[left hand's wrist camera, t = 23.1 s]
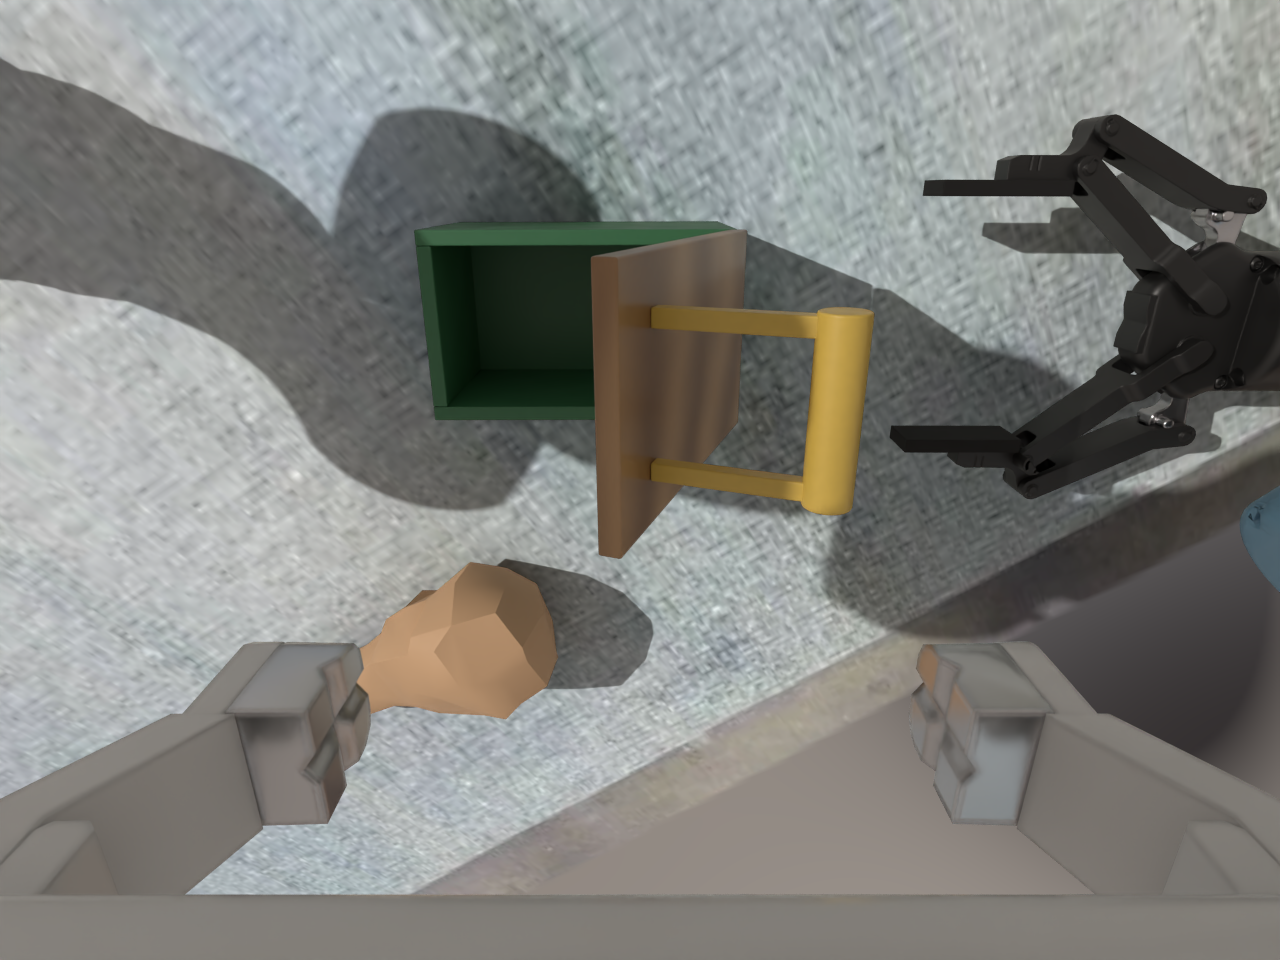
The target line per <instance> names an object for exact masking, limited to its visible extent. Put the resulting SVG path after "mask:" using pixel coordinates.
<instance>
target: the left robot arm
mask: <svg viewBox="0 0 1280 960" xmlns="http://www.w3.org/2000/svg"><path fill="white" fill-rule="evenodd" d="M363 670H364V666H363V661H362V656H361V651H360V649H359V648H358V647H357V646H356V645H355V644H354V643H310V642H286V643H284V642H251V643H248V644H245V645H243V646H242V647H241V648H240V649H239V651H238V652H237V653H236V654H235V655H234V656H233V657H232V658H231V660H230V661H229V662H228V663H227V664H226V665H225V666H224V667H223V669H222V670H221V671H220V672H219V673H218V674H217V675H216V676H215V678H214V679H213V680H212V681H211V682H210V683H209V684H208V686H207V687H206V688H205V689H204V690H203V691H202V692H201V693H200V695H199V696H198V697H197V698H196V699H195V700H194V701H193V702H192V704H191V705H190V706H189V707H188V708H187V709H186V710H185V711H184V713H183V714H170V715H168V716H166V717H164V718H162V719H160V720H158V721H156V722H154V723H152V724H150V725H148V726H146V727H144V728H142V729H140V730H138V731H136V732H134V733H132V734H130V735H128V736H126V737H124V738H122V739H120V740H118V741H116V742H114V743H112V744H110V745H108V746H106V747H104V748H102V749H100V750H98V751H96V752H94V753H92V754H90V755H88V756H86V757H84V758H82V759H79V760H77V761H75V762H73V763H71V764H69V765H67V766H65V767H63V768H61V769H59V770H57V771H55V772H53V773H51V774H49V775H47V776H45V777H43V778H41V779H39V780H37V781H35V782H33V783H31V784H29V785H27V786H25V787H23V788H21V789H19V790H17V791H15V792H13V793H11V794H9V795H7V796H5V797H3V798H1V799H0V960H1280V799H1278V798H1276V797H1274V796H1272V795H1270V794H1268V793H1266V792H1264V791H1262V790H1260V789H1258V788H1256V787H1254V786H1252V785H1250V784H1248V783H1246V782H1244V781H1242V780H1240V779H1238V778H1236V777H1234V776H1232V775H1230V774H1228V773H1226V772H1224V771H1222V770H1220V769H1218V768H1216V767H1214V766H1212V765H1210V764H1208V763H1206V762H1204V761H1202V760H1200V759H1198V758H1196V757H1194V756H1192V755H1190V754H1188V753H1186V752H1184V751H1182V750H1180V749H1178V748H1176V747H1174V746H1172V745H1170V744H1168V743H1166V742H1164V741H1162V740H1160V739H1158V738H1156V737H1154V736H1152V735H1150V734H1148V733H1146V732H1144V731H1142V730H1140V729H1138V728H1136V727H1134V726H1132V725H1130V724H1128V723H1126V722H1124V721H1122V720H1120V719H1118V718H1116V717H1114V716H1112V715H1110V714H1097V713H1096V712H1095V710H1094V709H1093V708H1092V707H1091V706H1090V705H1089V704H1088V702H1087V701H1086V700H1085V699H1084V698H1083V697H1082V696H1081V695H1080V693H1079V692H1078V691H1077V690H1076V689H1075V688H1074V687H1073V686H1072V684H1071V683H1070V682H1069V681H1068V680H1067V679H1066V678H1065V676H1064V675H1063V674H1062V673H1061V672H1060V671H1059V670H1058V669H1057V668H1056V666H1055V665H1054V664H1053V663H1052V662H1051V661H1050V660H1049V658H1048V657H1047V656H1046V655H1045V654H1044V653H1043V652H1042V651H1041V649H1040V648H1039V647H1038V646H1037V645H1035V644H1033V643H1031V642H1028V641H1025V642H995V643H976V644H923V646H922V648H921V650H920V652H919V654H918V660H917V665H916V670H917V671H918V673H919V675H920V677H921V678H922V680H923V683H922V684H921V685H920V686H919V687H918V688H917V689H916V690H915V691H914V692H913V693H912V695H911V702H910V710H909V719H910V731H911V736H912V739H913V743H914V747H915V749H916V751H917V753H918V755H919V757H920V759H921V761H922V762H923V763H925V764H926V765H928V766H929V767H930V768H932V769H933V770H935V771H936V772H935V778H934V784H933V786H934V788H935V790H936V792H937V794H938V796H939V798H940V800H941V802H942V804H943V806H944V808H945V810H946V812H947V814H948V816H949V818H950V820H951V822H952V823H953V824H978V825H1015V826H1017V829H1018V830H1019V831H1020V832H1022V833H1023V834H1024V835H1025V836H1026V837H1027V838H1029V839H1030V840H1031V841H1032V842H1033V843H1035V844H1036V845H1037V846H1038V847H1039V848H1041V849H1042V850H1043V851H1044V852H1045V853H1047V854H1048V855H1049V856H1050V857H1051V858H1052V859H1054V860H1055V861H1056V862H1057V863H1058V864H1060V865H1061V866H1062V867H1063V868H1064V869H1066V870H1067V871H1068V872H1069V873H1070V874H1072V875H1073V876H1074V877H1075V878H1076V879H1078V880H1079V881H1080V882H1081V883H1082V884H1084V885H1085V886H1086V887H1087V888H1088V889H1089V890H1091V891H1092V892H1093V893H1094V894H1080V895H789V894H788V895H787V894H784V895H783V894H780V895H777V894H776V895H775V894H773V895H771V894H769V895H768V894H765V895H764V894H725V895H724V894H723V895H721V894H717V895H716V894H713V895H185V894H186V893H187V892H188V891H190V890H191V889H192V888H193V887H194V886H196V885H197V884H198V883H199V882H200V881H202V880H203V879H204V878H205V877H206V876H207V875H209V874H210V873H211V872H212V871H213V870H215V869H216V868H217V867H218V866H219V865H221V864H222V863H223V862H224V861H225V860H227V859H228V858H229V857H230V856H231V855H233V854H234V853H235V852H236V851H237V850H239V849H240V848H241V847H242V846H243V845H245V844H246V843H247V842H248V841H249V840H250V839H252V838H253V837H254V836H255V835H256V834H258V833H259V832H260V831H261V830H262V829H263V826H266V825H300V824H328V822H329V820H330V818H331V816H332V814H333V812H334V810H335V808H336V806H337V804H338V802H339V800H340V798H341V796H342V794H343V792H344V790H345V788H346V786H347V784H346V778H345V773H344V771H345V770H347V769H348V768H350V767H351V766H352V765H354V764H355V763H357V762H358V761H359V760H360V757H361V755H362V753H363V751H364V749H365V747H366V744H367V739H368V734H369V730H370V725H371V708H370V701H369V695H368V693H367V692H366V691H365V690H364V689H363V688H362V687H361V686H360V685H359V684H358V683H357V680H358V678H359V677H360V675H361V673H362V671H363Z"/></svg>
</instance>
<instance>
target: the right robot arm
mask: <svg viewBox="0 0 1280 960" xmlns="http://www.w3.org/2000/svg"><path fill="white" fill-rule="evenodd" d="M1072 137H1073V140H1072V142H1071V143H1070V145H1069V147H1068V148H1067V150H1066V151H1065V152H1063V153H1062V154H1060V155H1017V156H1008V157H1005V158H1003V159H1000V160H998V161H997V166H996V172H995V178H994V180H927V181H925V183H924V190H923V196H1070V197H1071V198H1072V199H1073V200H1074V201H1075V203H1076V204H1077V205H1078V206H1079V207H1080V208H1081V209H1082V210H1083V212H1084V213H1085V214H1086V215H1087V216H1088V217H1089V218H1090V219H1091V221H1092V222H1093V223H1094V224H1095V225H1096V226H1097V227H1098V228H1099V230H1100V231H1101V232H1102V233H1103V234H1104V235H1105V236H1106V237H1107V239H1108V240H1109V241H1110V242H1111V243H1112V244H1113V245H1114V246H1115V248H1116V249H1117V250H1118V251H1119V252H1120V253H1121V254H1122V255H1123V257H1124V259H1123V262H1124V263H1125V264H1126V265H1127V267H1128V268H1129V269H1130V270H1131V271H1132V272H1133V273H1134V274H1135V276H1136V277H1137V278H1138V279H1139V280H1140V281H1139V282H1138V283H1137V284H1136V285H1135V286H1134V288H1133V290H1132V291H1127V293H1126V297H1125V301H1124V320H1123V322H1122V324H1121V326H1120V328H1119V329H1118V331H1117V334H1116V338H1115V342H1114V347H1117V348H1118V352H1119V354H1118V355H1117V356H1116V357H1114V358H1113V359H1111V360H1110V361H1108V362H1107V363H1106V364H1104V365H1103V366H1101V367H1100V368H1099V369H1097V371H1096V375H1095V376H1094V377H1093V378H1092V379H1090V380H1089V381H1087V382H1086V383H1085V384H1083V385H1082V386H1080V387H1079V388H1077V389H1076V390H1074V391H1073V392H1072V393H1070V394H1069V395H1067V396H1066V397H1064V398H1063V399H1061V400H1060V401H1059V402H1057V403H1056V404H1054V405H1053V406H1051V407H1050V408H1048V409H1047V410H1046V411H1044V412H1043V413H1041V414H1040V415H1038V416H1037V417H1035V418H1034V419H1033V420H1031V421H1030V422H1028V423H1027V424H1025V425H1024V426H1022V427H1021V428H1020V429H1018V430H1017V431H1015V432H1014V433H1012V434H1011V433H1010V432H1008V431H1007V430H1005V429H1003V428H1002V427H1000V426H891V432H890V438H891V439H892V440H893V441H894V442H895V443H896V444H897V445H898V446H899V447H900V448H901V449H902V450H903V451H904V452H940V453H948V454H947V456H948V457H949V458H950V459H951V460H952V461H953V462H955V463H956V464H957V465H960V466H962V467H993V468H1004V469H1005V471H1004V473H1003V479H1004V481H1005V482H1006V483H1007V484H1009V485H1010V486H1011V487H1012V488H1013V489H1015V490H1016V491H1017V492H1019V493H1020V494H1021V495H1022V496H1024V497H1025V498H1027V499H1034V498H1037V497H1039V496H1041V495H1044V494H1046V493H1049V492H1051V491H1053V490H1056V489H1058V488H1061V487H1063V486H1066V485H1068V484H1070V483H1073V482H1075V481H1078V480H1080V479H1082V478H1085V477H1087V476H1090V475H1092V474H1094V473H1097V472H1099V471H1102V470H1104V469H1107V468H1109V467H1111V466H1114V465H1116V464H1119V463H1121V462H1123V461H1126V460H1128V459H1131V458H1133V457H1135V456H1138V455H1140V454H1143V453H1145V452H1148V451H1150V450H1152V449H1160V448H1169V447H1179V446H1185V445H1188V444H1190V443H1191V442H1192V441H1193V440H1194V438H1195V436H1196V431H1195V429H1194V428H1193V427H1191V426H1189V425H1186V424H1185V421H1186V416H1187V410H1188V404H1189V398H1192V397H1194V396H1196V395H1198V394H1200V393H1203V392H1207V391H1280V251H1245V250H1242V249H1241V248H1239V247H1238V246H1237V245H1235V242H1236V240H1237V237H1238V235H1239V232H1240V230H1241V227H1242V225H1243V222H1244V220H1245V217H1246V215H1247V214H1255V213H1257V212H1259V211H1260V210H1261V209H1262V208H1263V207H1264V206H1265V204H1266V201H1267V194H1266V192H1265V191H1264V190H1262V189H1258V188H1251V187H1243V186H1235V185H1228V184H1226V183H1225V182H1223V181H1222V180H1220V179H1218V178H1217V177H1215V176H1214V175H1212V174H1211V173H1209V172H1207V171H1206V170H1204V169H1203V168H1201V167H1200V166H1198V165H1197V164H1195V163H1193V162H1192V161H1190V160H1189V159H1187V158H1186V157H1184V156H1182V155H1181V154H1179V153H1178V152H1176V151H1175V150H1173V149H1171V148H1170V147H1168V146H1167V145H1165V144H1164V143H1162V142H1160V141H1159V140H1157V139H1156V138H1154V137H1153V136H1151V135H1150V134H1148V133H1146V132H1145V131H1143V130H1142V129H1140V128H1139V127H1137V126H1135V125H1134V124H1132V123H1131V122H1129V121H1128V120H1126V119H1124V118H1123V117H1121V116H1119V115H1116V114H1115V115H1107V116H1101V117H1095V118H1090V119H1084V120H1081V121H1080V122H1078V123H1077V124H1076V125H1075V127H1074V129H1073V132H1072ZM1102 160H1104V161H1106V162H1107V163H1109V164H1110V165H1112V166H1114V167H1115V168H1117V169H1118V170H1120V171H1122V172H1123V173H1125V174H1127V175H1128V176H1130V177H1131V178H1133V179H1135V180H1136V181H1138V182H1139V183H1141V184H1143V185H1144V186H1146V187H1147V188H1149V189H1151V190H1152V191H1154V192H1155V193H1157V194H1159V195H1160V196H1162V197H1163V198H1165V199H1167V200H1168V201H1170V202H1172V203H1174V204H1175V205H1177V206H1180V207H1183V208H1186V209H1191V210H1193V211H1192V212H1191V215H1190V217H1191V219H1192V220H1194V222H1195V224H1196V225H1198V226H1200V227H1202V228H1203V229H1204V230H1205V233H1206V237H1205V241H1203V242H1200V243H1197V244H1195V245H1194V246H1192V247H1190V248H1189V249H1187V250H1186V251H1185V250H1184V249H1183V248H1182V247H1180V246H1178V245H1176V244H1174V243H1173V242H1172V241H1171V240H1170V239H1169V238H1168V237H1167V235H1166V234H1165V233H1164V232H1163V231H1162V230H1161V228H1160V227H1159V226H1158V225H1157V224H1156V223H1155V222H1154V220H1153V219H1152V218H1151V217H1150V216H1149V215H1148V213H1147V212H1146V211H1145V210H1144V209H1143V208H1142V206H1141V205H1140V204H1139V203H1138V202H1137V201H1136V199H1135V198H1134V197H1133V196H1132V195H1131V194H1130V192H1129V191H1128V190H1127V189H1126V188H1125V187H1124V185H1123V184H1122V183H1121V182H1120V181H1119V180H1118V178H1117V177H1116V176H1115V175H1114V174H1113V173H1112V171H1111V170H1110V169H1109V168H1108V167H1107V166H1106V164H1105V163H1104V162H1103V161H1102ZM1132 372H1135V373H1137V374H1136V375H1131V373H1132ZM1156 391H1157V392H1159V393H1161V394H1162V395H1161V398H1160V400H1159V401H1158V402H1157V403H1156V404H1155V405H1153V406H1150V407H1147V408H1141V409H1139V411H1138V412H1137V416H1135V417H1130V418H1126V419H1122V420H1119V421H1117V422H1114V423H1112V424H1109V425H1107V426H1105V427H1102V428H1100V429H1097V430H1095V431H1093V432H1090V433H1088V434H1086V435H1083V434H1084V433H1086V432H1087V431H1089V430H1090V429H1092V428H1093V427H1095V426H1096V425H1098V424H1099V423H1101V422H1102V421H1104V420H1105V419H1107V418H1108V417H1110V416H1111V415H1113V414H1114V413H1116V412H1117V411H1118V410H1120V409H1121V408H1123V407H1124V406H1126V405H1127V404H1129V403H1131V402H1135V401H1141V400H1144V399H1145V398H1147V397H1149V396H1150V395H1152V394H1153V393H1155V392H1156ZM1081 435H1083V436H1081ZM1080 436H1081V437H1080ZM1078 437H1079V438H1078ZM1240 532H1241V536H1242V540H1243V542H1244V545H1245V547H1246V549H1247V551H1248V553H1249V555H1250V556H1251V558H1252V560H1253V561H1254V562H1255V564H1256V565H1257V567H1258V568H1259V570H1260V571H1261V572H1262V574H1263V575H1264V576H1265V577H1266V578H1267V580H1268V581H1269V582H1270V583H1271V584H1272V585H1273V586H1274V587H1275V588H1276V589H1277V590H1278V591H1279V592H1280V486H1278V487H1276V488H1275V489H1273V490H1271V491H1270V492H1268V493H1267V494H1265V495H1263V496H1262V497H1260V498H1259V499H1257V500H1255V501H1254V502H1252V503H1251V504H1249V505H1248V507H1247V508H1246V509H1245V510H1244V511H1243V513H1242V515H1241V518H1240Z"/></svg>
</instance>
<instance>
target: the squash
mask: <svg viewBox="0 0 1280 960" xmlns="http://www.w3.org/2000/svg"><path fill="white" fill-rule="evenodd" d="M359 649H360V651H361V656H362V661H363V666H364V670H363V671H362V673H361V675H360V677H359V678H358V680H357V683H358V684H359V685H360V686H361V687H362V688H363V689H364V690H365V691H366V692H367V693H368V695H369V701H370V708H371V714H372V713H375V712H378V711H380V710H383V709H386V708H389V707H392V706H411V707H419V708H422V709H426V710H430V711H434V712H438V713H451V714H470V715H486V716H491V717H497V718H502V719H507V718H508V717H509V715H510V714H511V713H512V712H513V711H514V710H515V709H516V708H517V707H518V706H519V705H520V704H521V703H523V702H524V701H526V700H527V699H529V698H530V697H532V696H533V695H535V694H536V693H538V692H539V691H541V690H542V689H544V688H545V687H547V685H548V682H549V680H550V677H551V674H552V672H553V669H554V666H555V664H556V661H557V658H558V655H557V652H556V644H555V636H554V628H553V620H552V618H551V616H550V614H549V611H548V609H547V607H546V604H545V602H544V600H543V597H542V595H541V593H540V590H539V588H538V586H537V584H536V583H534V582H533V581H531V580H529V579H527V578H525V577H523V576H521V575H519V574H517V573H516V572H514V571H512V570H510V569H508V568H505V567H498V566H492V565H485V564H479V563H473V562H470V563H469V564H467V565H466V566H465V567H464V568H463V569H462V570H460V571H459V572H458V573H457V574H456V575H455V576H453V577H452V578H451V579H450V580H449V581H448V582H447V583H445V584H444V585H443V586H442V587H441V588H440V589H438V590H422V591H421V592H420V593H419V594H418V595H417V596H416V597H415V598H414V599H413V600H412V601H411V602H410V603H409V604H408V605H407V606H406V607H404V608H403V609H401V610H400V611H398V612H397V613H395V614H394V615H392V616H391V617H389V618H388V619H386V621H385V624H384V627H383V629H382V632H381V634H379V635H378V636H377V637H376V638H375V639H374V640H372V641H371V642H370V643H369V644H368V645H366V646H363V647H361V648H359Z"/></svg>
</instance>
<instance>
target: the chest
mask: <svg viewBox="0 0 1280 960" xmlns="http://www.w3.org/2000/svg"><path fill="white" fill-rule="evenodd" d="M731 229H734V230H737V229H735V228H732V227H730V226H727V225H725V224H722V223H720V222H718V221H688V222H458V223H452V224H447V225H441V226H435V227H429V228H423V229H418V230H414V234H415V243H416V252H417V261H418V270H419V279H420V288H421V297H422V305H423V314H424V323H425V332H426V341H427V350H428V359H429V368H430V377H431V386H432V395H433V404H434V406H435V407H434V413H435V420H595V396H594V359H593V322H592V285H591V257H593V256H596V255H601V254H606V253H612V252H617V251H622V250H627V249H633V248H638V247H643V246H648V245H653V244H659V243H664V242H669V241H674V240H679V239H685V238H690V237H695V236H700V235H705V234H711V233H716V232H721V231H726V230H731Z"/></svg>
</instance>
